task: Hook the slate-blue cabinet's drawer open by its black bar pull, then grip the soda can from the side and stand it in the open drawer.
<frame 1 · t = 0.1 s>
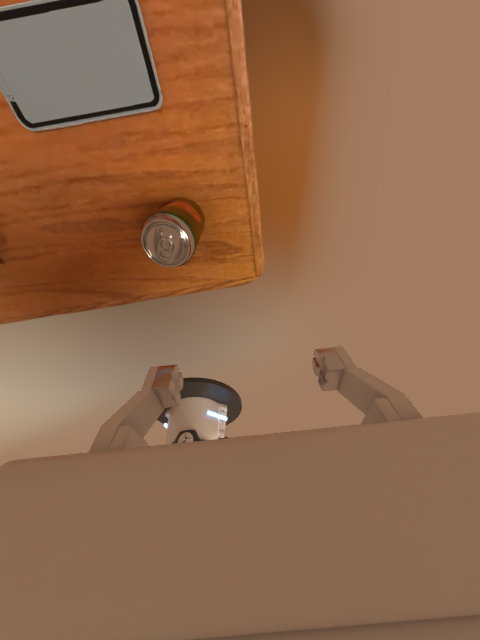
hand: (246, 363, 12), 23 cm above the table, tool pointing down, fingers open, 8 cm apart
soda can: (186, 218, 28), on the table
smartphone: (78, 70, 20), on the table
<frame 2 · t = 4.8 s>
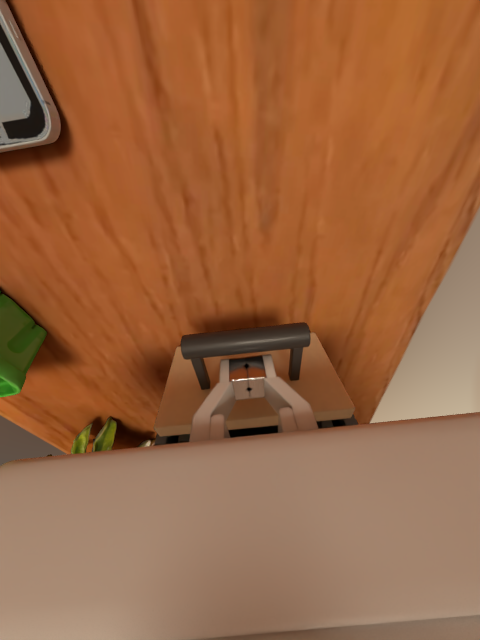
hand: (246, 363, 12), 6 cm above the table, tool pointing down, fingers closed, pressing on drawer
cabinet: (251, 391, 23), on the table
drawer: (252, 405, 17), point 4 cm above the table, slide at 0.7 cm, touching gripper
passion flower: (122, 436, 29), on the table
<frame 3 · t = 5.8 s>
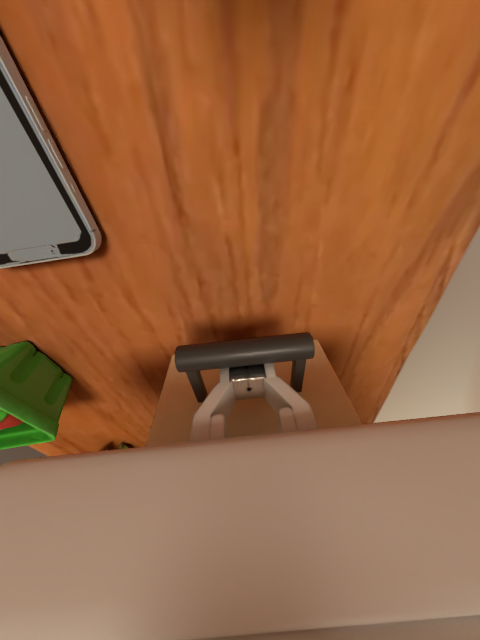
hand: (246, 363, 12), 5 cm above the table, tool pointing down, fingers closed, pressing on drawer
fruit basket: (4, 364, 17), on the table
drawer: (251, 415, 16), point 4 cm above the table, slide at 5.6 cm, touching gripper
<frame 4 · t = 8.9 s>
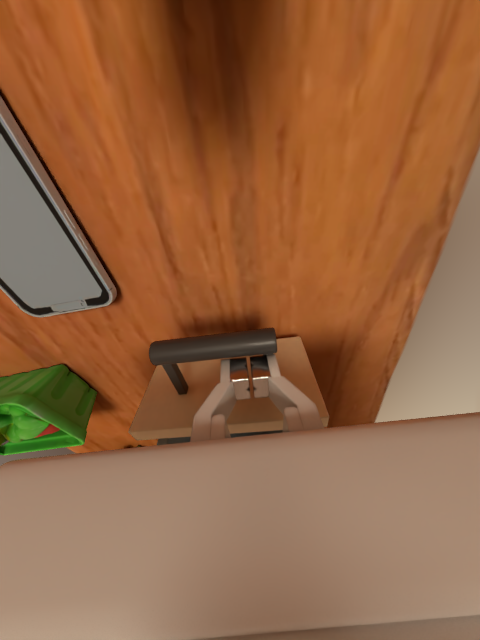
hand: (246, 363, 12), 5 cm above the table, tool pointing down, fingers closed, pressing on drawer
fruit basket: (45, 380, 22), on the table
drawer: (237, 410, 17), point 4 cm above the table, slide at 8.9 cm, touching gripper
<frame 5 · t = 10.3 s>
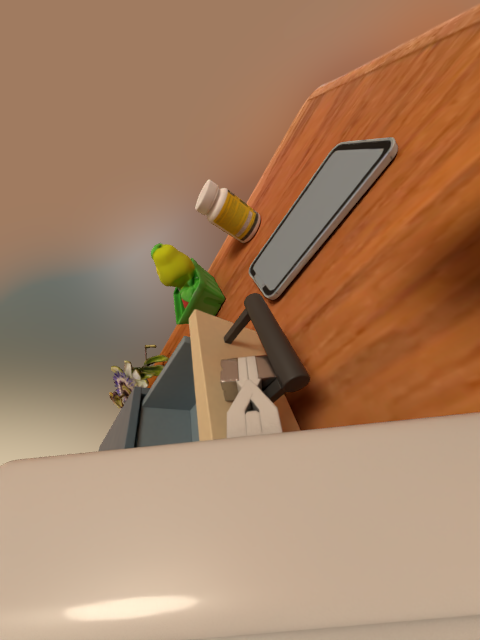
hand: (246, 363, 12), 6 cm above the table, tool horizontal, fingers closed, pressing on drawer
smartphone: (308, 228, 20), on the table
cabinet: (182, 476, 25), on the table
supplement bottle: (252, 230, 31), on the table
fruit basket: (214, 297, 34), on the table
drawer: (213, 408, 16), point 4 cm above the table, slide at 11.2 cm, touching gripper
passion flower: (163, 382, 42), on the table
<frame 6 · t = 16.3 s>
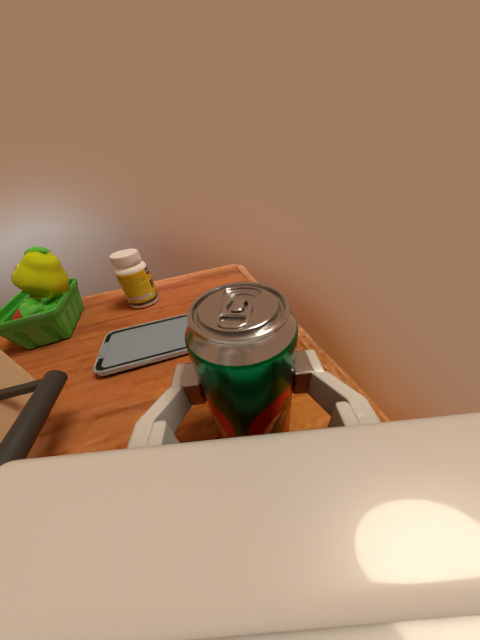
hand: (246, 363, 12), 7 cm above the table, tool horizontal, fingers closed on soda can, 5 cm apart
soda can: (254, 434, 16), on the table, touching gripper
smartphone: (167, 341, 26), on the table
supplement bottle: (145, 302, 34), on the table
fruit basket: (65, 326, 31), on the table
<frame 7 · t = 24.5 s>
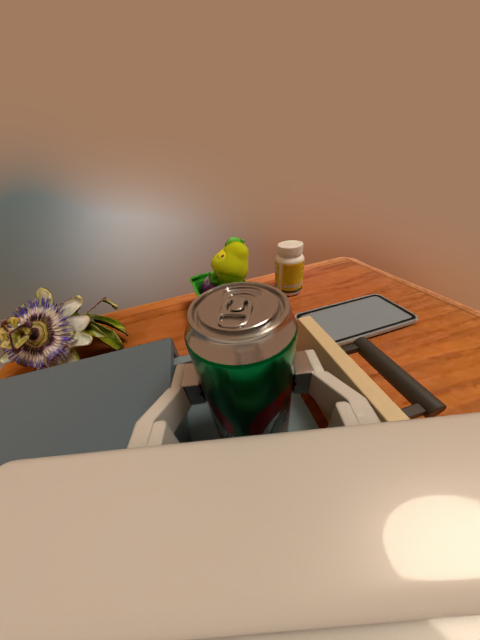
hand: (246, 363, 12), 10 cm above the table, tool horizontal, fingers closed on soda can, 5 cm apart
soda can: (254, 434, 16), point 2 cm above the table, touching gripper
smartphone: (352, 322, 28), on the table
cabinet: (108, 497, 15), on the table
supplement bottle: (288, 290, 37), on the table
fruit basket: (227, 311, 34), on the table
drawer: (292, 409, 15), point 4 cm above the table, slide at 11.0 cm
passion flower: (84, 353, 29), on the table
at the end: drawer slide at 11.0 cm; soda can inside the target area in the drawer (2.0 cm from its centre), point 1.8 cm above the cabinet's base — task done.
